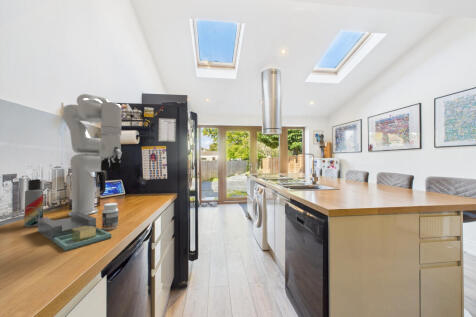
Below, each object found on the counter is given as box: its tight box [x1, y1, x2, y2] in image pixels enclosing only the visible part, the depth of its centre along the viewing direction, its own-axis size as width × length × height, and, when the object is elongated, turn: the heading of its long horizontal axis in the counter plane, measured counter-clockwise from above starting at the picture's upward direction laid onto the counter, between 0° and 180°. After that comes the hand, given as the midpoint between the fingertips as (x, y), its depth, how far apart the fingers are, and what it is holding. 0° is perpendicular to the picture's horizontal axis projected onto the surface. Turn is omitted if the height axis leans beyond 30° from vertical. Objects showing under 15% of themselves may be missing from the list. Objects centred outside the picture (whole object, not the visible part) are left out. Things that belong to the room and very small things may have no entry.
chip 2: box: [76, 226, 97, 242], centre depth 69 cm, size 4×4×4 cm
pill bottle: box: [101, 202, 120, 231], centre depth 83 cm, size 6×6×10 cm
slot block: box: [37, 212, 97, 243], centre depth 79 cm, size 19×13×5 cm
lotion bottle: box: [23, 178, 44, 228], centre depth 87 cm, size 6×6×20 cm
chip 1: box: [72, 226, 89, 241], centre depth 71 cm, size 4×4×4 cm
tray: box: [53, 227, 112, 252], centre depth 70 cm, size 12×13×2 cm
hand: (110, 171), depth 86 cm, fingers open, 9 cm apart
